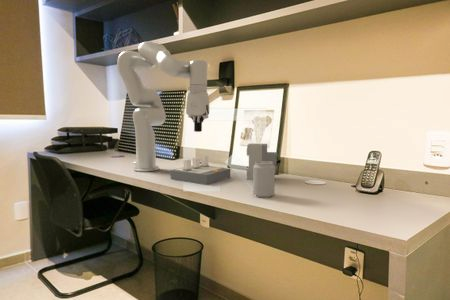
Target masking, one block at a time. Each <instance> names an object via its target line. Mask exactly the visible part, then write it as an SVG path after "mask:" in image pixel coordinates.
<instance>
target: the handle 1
mask: <svg viewBox="0 0 450 300" xmlns="http://www.w3.org/2000/svg"><path fill="white" fill-rule="evenodd" d="M182 162H183V163H182V164H183V167H184V169H183V170H192V169H191V166H192V159H190V158H186V159H183V161H182Z"/></svg>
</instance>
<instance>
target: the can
mask: <svg viewBox="0 0 450 300" xmlns="http://www.w3.org/2000/svg"><path fill="white" fill-rule="evenodd" d="M275 177H276V172H275V166H274V165H273V162H270V161H257V162H255V165H254V166H253V180H252V185H253V186H252V194H253V195H256V196H255V197H257V196H258V197H257V198H260V197H269V198H272V197H273V196H274V195H275V193H276V192H275V190H276V189H275V186H276V185H275V183H276V182H275V181H276V179H275ZM271 196H272V197H271Z"/></svg>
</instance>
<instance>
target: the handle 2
mask: <svg viewBox="0 0 450 300" xmlns="http://www.w3.org/2000/svg"><path fill="white" fill-rule="evenodd" d="M200 166H210V164H209V156H208V155H202V156H201V158H200Z"/></svg>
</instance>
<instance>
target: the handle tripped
mask: <svg viewBox="0 0 450 300" xmlns="http://www.w3.org/2000/svg"><path fill="white" fill-rule="evenodd" d="M191 161H192V166H193V167H192V168H200V165H201V158H200V157H197V156H196V157H192V159H191Z"/></svg>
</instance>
